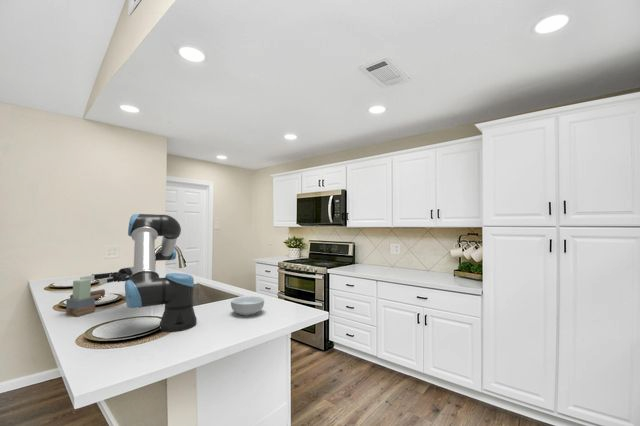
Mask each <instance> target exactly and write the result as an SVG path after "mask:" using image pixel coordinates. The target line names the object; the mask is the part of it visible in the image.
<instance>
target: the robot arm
mask: <svg viewBox="0 0 640 426" xmlns="http://www.w3.org/2000/svg"><path fill="white" fill-rule="evenodd" d="M181 233H182V228H181V225H180V223H179V221H178V220H176V218H174V217H172V216H170V215H167V214H153V213H151V214H150V213H149V214H148V213H147V214H146V213H134V214H132V215H131V216H130V218H129V223H128V229H127V236H129V237H131V239H132V240H133V241H134V248H133V266H130V267H123V268H120V269H119V270H118V271H114V272H105V273H96V274H93V273H92V274H91V275H86V276H85V275H84V276H80V279H79V280H81V279H89V280H91V282H94V281H95V280H99V285H105V284H110V283H116V282H117V283H120V282H124V293H125V296H124V297H125V303H126V306H127V308H130V309H135V308H136V309H138V308H139V309H140V308H144V307H145V308H146V307H153V306H160V305H164V311H163V314H162V317H161V320H160V321H159V328H160V327H161V329H160V331H163V332H181V331H184V330H188V329H191V328H193V327H196V325H197V324H198V323H197V322H198V320H197V316H196V314H195V310H194V289H195V280H194V277H193V276H192V275H191V274H188V273H178V272H177V273H176V272H175V273H173V272H171V273H167V274H165V277H160V274H159V273H158V272H157V271H156V262H157V261H161V262H162V261H174V260H176V258H177V249H176V248H175V246H176V243H177V240H178V238H179V237H180V236H181ZM158 237H162V239H161V245H160V247H161V246H162V249H161V248H160V249H161V250H159V251H158V253H157V254H156V259H155V250H156V249H157V248H156V244H155V242H156V241H155V240H157V239H158ZM174 245H175V246H174ZM171 247H173V248H171ZM175 249H176V250H175Z"/></svg>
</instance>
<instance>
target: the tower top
mask: <svg viewBox="0 0 640 426" xmlns="http://www.w3.org/2000/svg"><path fill="white" fill-rule="evenodd" d="M65 301H66V303H65V305H66V306H65V307H66V309H67V308H72V309H81V308H84V307H88V306H92V305H95V306H96V301H95V297H91V296H90V298H86V299H81V300H76V299H73V298H71V299H70V298H67V299H66V300H65Z"/></svg>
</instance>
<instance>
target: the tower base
mask: <svg viewBox="0 0 640 426" xmlns="http://www.w3.org/2000/svg"><path fill="white" fill-rule="evenodd" d="M95 312H96V304H95V305H92V306H88V307H84V308H81V309H72V308H66V311H65V314H66V316H68V317H75V318H79V317H82V316H83V317H84V316H86V315H89V314H93V313H95Z"/></svg>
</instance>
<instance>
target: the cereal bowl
mask: <svg viewBox="0 0 640 426" xmlns="http://www.w3.org/2000/svg"><path fill="white" fill-rule="evenodd" d="M264 305H265V298H264V297H260V296H255V295H254V296H253V295H252V296H251V295H250V296H249V295H247V296H246V295H245V296H239V297H235V298H232V299H231V301H230V307H231V309H232V311H234V313H237V314H239V315H241V316H246V317H247V316H253V315H255V314H256V313H258V312H260V311H261V310H262V309H263V308H264Z"/></svg>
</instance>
